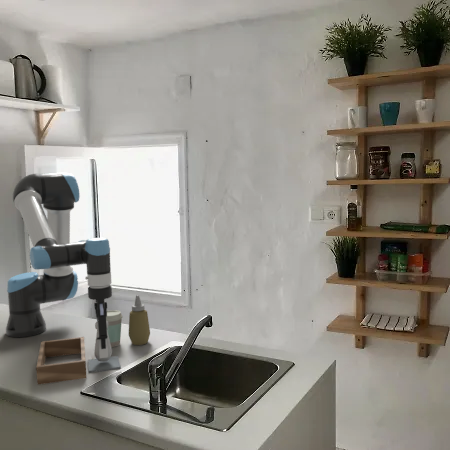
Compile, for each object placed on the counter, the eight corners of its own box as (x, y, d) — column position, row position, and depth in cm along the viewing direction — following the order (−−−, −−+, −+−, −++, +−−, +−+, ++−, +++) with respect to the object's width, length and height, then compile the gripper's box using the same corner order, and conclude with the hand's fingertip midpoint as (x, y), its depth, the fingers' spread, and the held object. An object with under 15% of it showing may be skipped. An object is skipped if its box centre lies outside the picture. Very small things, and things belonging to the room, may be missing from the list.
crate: (42, 356, 175) (41, 341, 174) (84, 351, 179) (84, 336, 178) (37, 384, 152) (36, 367, 151) (86, 378, 156) (85, 361, 156)
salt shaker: (107, 363, 163) (105, 324, 161) (91, 362, 164) (89, 323, 162) (115, 356, 168) (113, 318, 167) (99, 355, 170) (97, 318, 168)
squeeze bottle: (124, 345, 184) (122, 297, 182) (136, 338, 192) (134, 292, 190) (143, 347, 181) (141, 299, 179) (154, 340, 189) (152, 293, 187)
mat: (88, 361, 170) (87, 359, 170) (118, 357, 173) (117, 355, 172) (88, 372, 160) (88, 370, 160) (120, 368, 163) (120, 366, 163)
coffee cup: (128, 342, 188) (126, 311, 186) (114, 349, 180) (112, 317, 179) (109, 339, 191) (108, 308, 190) (95, 346, 184) (93, 315, 182)
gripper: (87, 280, 171) (90, 345, 174) (88, 293, 153) (92, 366, 156) (109, 278, 173) (112, 343, 176) (113, 291, 155) (117, 362, 158)
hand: (103, 353), depth 166 cm, fingers closed on salt shaker, 6 cm apart
